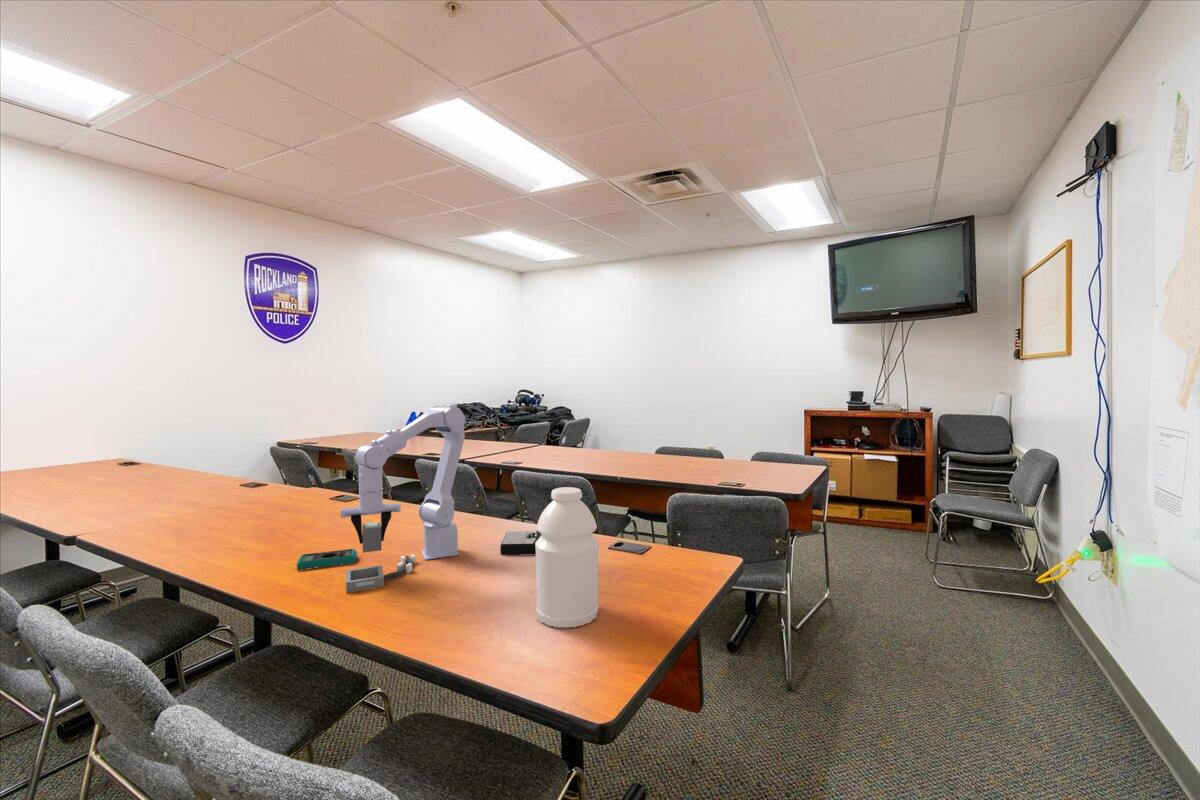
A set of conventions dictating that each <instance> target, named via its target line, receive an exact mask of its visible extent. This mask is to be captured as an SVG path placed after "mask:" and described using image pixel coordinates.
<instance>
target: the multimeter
mask: <svg viewBox="0 0 1200 800" xmlns="http://www.w3.org/2000/svg"><path fill="white" fill-rule="evenodd" d="M540 537H541V534H540V533H539V532H538V531H537V530H509V531H507V532H506V533H505V534H504V537H503V539H502V541H501V544H500V549H499V550H500V555H501V556H524V555H523V554H536V548H535V542H536V541H537V540H538V539H539V538H540ZM520 554H522V555H520Z"/></svg>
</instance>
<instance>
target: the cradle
mask: <svg viewBox="0 0 1200 800" xmlns="http://www.w3.org/2000/svg"><path fill="white" fill-rule="evenodd" d="M383 575H384V570H383V565H382V564H380V565H379V564H378V565H373V566H366V567H359V568H354V569H346V570H345V586H346V588H345V590H346V591H345V592H346V593H347V594H348V593H352V592H359V591H365V590H366V591H367V590H371V589H377V588H378V589H379V588H382V587H383V588H384V586H385V581H384V576H383ZM368 577H370V578H368ZM362 578H363V579H362ZM355 579H357V580H355Z"/></svg>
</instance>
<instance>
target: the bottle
mask: <svg viewBox="0 0 1200 800" xmlns="http://www.w3.org/2000/svg"><path fill="white" fill-rule="evenodd" d="M550 497H551V500H552V501H551V502H550V503H548V505H547V506H546V507H545V508H544V509H543V511H542V512H541V514H540V516H539V518H538V521H537V524H536V531H538V532H539V533H540V534H541V537H540V538H539V539H538V540H537V541H536V542H535V548H536V555H535V594H536V595H535V596H536V599H535V601H536V604H535V611H536V619H538V620H539V621H540V623H542V622H543V623H545V624H544V625H546V624H547V625H546V626H548V625H549V626H548V627H551V626H554V627H553V628H557V627H559V628H558V629H561V628H560V627H572V626H578V625H582V624H585V623H587V622H590V621H591V620H592V619H594V618H595V617H596V618H597V616H598V614H599V607H600V604H599V541H598V539H597V538H596V537H595V536H594V534H593V533H594V532H595V531H596V530H597V528H598V526H597V523H596V519H595V516H594V515H593V514H592V512H591V510H590V508H589V507H588V505H586V504H585V502H583V501H582V500H581V499H582V498H583V492H582V489H580V488H578V487H572V486H571V487H570V486H568V487H566V486H564V487H556V488H554V489H552V490H551V493H550ZM597 613H598V614H597ZM596 618H595V619H596ZM595 619H594V620H595ZM543 623H542V624H543ZM590 623H591V622H590Z"/></svg>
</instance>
